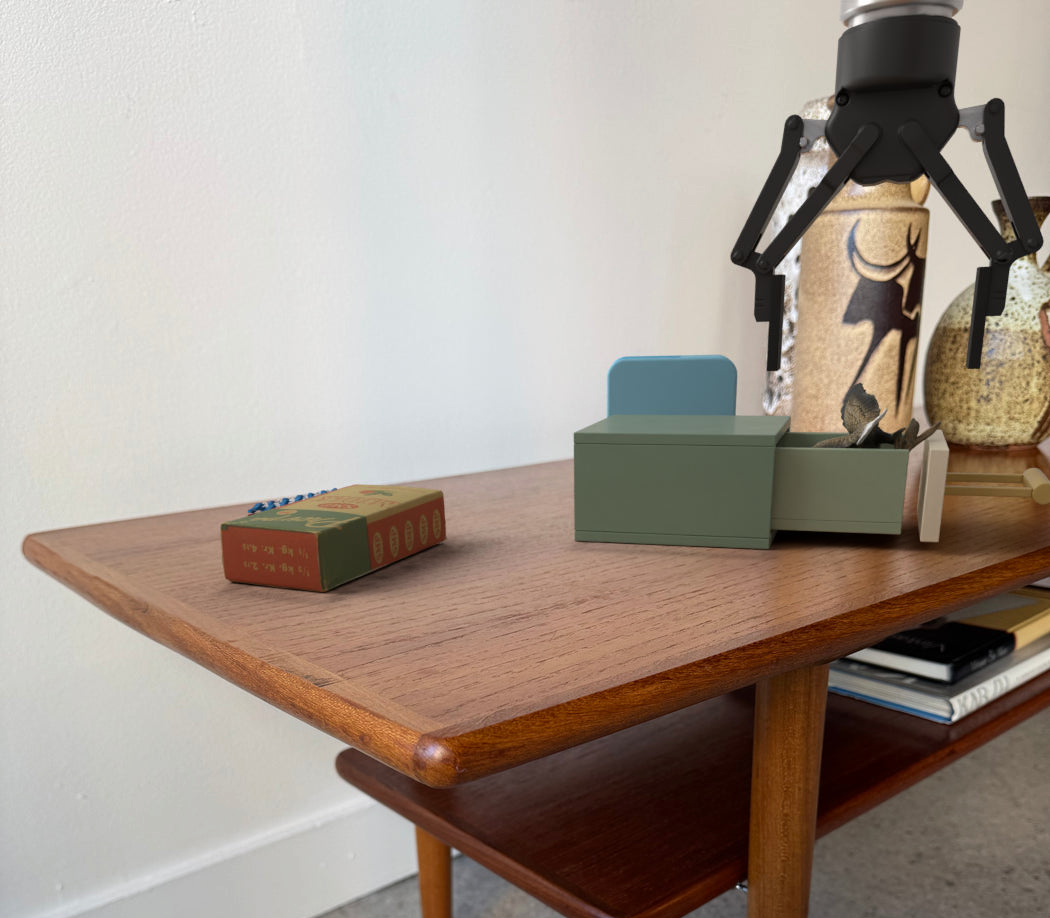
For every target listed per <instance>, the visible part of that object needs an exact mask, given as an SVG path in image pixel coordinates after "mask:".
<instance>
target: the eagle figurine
mask: <svg viewBox="0 0 1050 918" xmlns="http://www.w3.org/2000/svg"><path fill="white" fill-rule="evenodd" d="M839 410H840V414H841V415H840V419H841V420H842V424H841V425H842V426H843V428H844V429H845V430H846V431H847V433H849V434H850V435H847V436H843V437H838V438H832V439H828V440H825V441H821V442H819V443H817V444H816V445H814V446H813V447H811V448H858V449H881V444H886V443H887V444H892V445H894V449H909V454H910V453H911V451H912V450H913V449H915V448H916V447H917V446H918V445H920V444H921V443H922V442H924V440H925V439H927V438H928V437H930V436H931V435H933V434H934V433H935V431H936V430H939V427H940V426H941V425H942V420H938V421H937V422H935V423H934V424H933V425H932V426H930V427H929V428H927V429H925V430H926V431H925V430H924V431H923V432H922V433H920V427H921V426H920V423H919V421H917V420H916V418H915V417H912V418H911V419H910V422H909V423H908V425H907V426H906V427H901V428H899V429H897V430H896V431H894V432H892V433H893V435H892V434H888V433H889V432H887V431H884V430H883V429H882V428H881V427H880V422H881V421H882V420H883V418H885V416H886V414H887V413H888V407H886V408H885V409H884V410H883V412H881V410H882V409H881V408H880V404H879V402H878V399H877V398H876V396H875V394H871V393H868V392H867V390H866V389H865V388H864V383H862V382H857V383H856V384H854V385H853V386H851V387H850V389H848V393H846V394H845V397H844V399H843V401H842V406H841V407H840V409H839ZM902 433H905V434H904V437H903V438H902ZM919 433H920V434H919ZM918 434H919V435H918Z"/></svg>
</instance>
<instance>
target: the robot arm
mask: <svg viewBox="0 0 1050 918" xmlns="http://www.w3.org/2000/svg"><path fill="white" fill-rule="evenodd" d="M964 2H965V1H964V0H840V7H839V21H840V22H841V24H842V25H843V26H844V27H846V28H847V29H846V30H845V31H844V32H842V34H841V36H840V37H839V38H838V40H837V51H836V52H837V53H836V67H835V83H834V96H833V97H834V98H833V106H832V110H831V112H830V114H829V116H828V118H827V119H814V118H813V119H812V118H802V117H801V116H800V115H799V114H796V113H795V114H791V115H789V116H788V117H787V119H785V122H784V124H783V125H784V126H783V132H782V137H781V145H780V151H779V154H778V156H777V157H776V159H775V162H774V164H773V166H772V168H771V170H770V172H769V174H768V176H767V178H766V180H765V182H764V184H763V187H762V188H761V190H760V193H759V195H758V197H757V199H756V201H755V203H754V205H753V207H752V208H751V211H750V213H749V215H748V216H747V219H746V221H745V223H744V225H743V226H742V229H741V232H740V233H739V235H738V238H737V239H736V242H735V244H734V245H733V248H732V250H731V251H730V255H729V257H730V261H731V263H732V264H733V265H735V266H739V267H741V268H744V269H747V270H749V271H751V272H752V274H753V275H754V280H755V281H754V282H755V283H754V301H753V302H754V303H753V304H754V305H753V316H754V320H755V322H756V323H765V322H766V323H768V335H767V352H766V353H767V355H766V372H778V371H779V370H781V368H782V367H781V366H782V350H783V346H782V345H783V332H784V313H785V296H786V295H785V293H786V276H787V275H786V274H782V273H781V274H780V273H779V274H776V269H777V268H778V267H779V266H780V265H781V263H782V262H783V261H784V260H785V258H786V257H787V256H788V255H789V253H791V251H792V250H793V249H794V247H795V246H796V245H797V244H798V243H799V241H800V240H801V239H802V237H803V236H804V235H805V234H806V233H807V232H808V230H809V229H810V228H811V227H812V226H813V224H814V223H815V222H816V221H817V219H818V218H820V216H821V215H822V214H823V212H824V211H825V210H826V209H827V207H828V206H829V205H830V204H831V203H832V201H833V200H834V199H835V198H836V197H837V196H838V195H839V194H840V192H841V191H842V190H843V189H844V187H846V185H847V184H848V183H849V182H850V180H851V181H852V182H853V183H854V184H856V185H858V186H861V187H862V188H869V187H870V188H871V187H876V186H878V185H882V184H886V183H888V184H893V185H897V186H901V185H911V183H914V182H916V181H918V180H919V179H921V178H922V177H923V176H924V177H925V178H926V179H927V181H928V182H929V184H930V185H931V186H932V187H933V189H935V190H936V192H937V193H938V194H939V196H940V197H941V198H942V199H943V201H944V202H945V204H946V205H947V206H948V208H949V209H950V210H951V211H952V213H953V214H954V215H955V217H956V218H957V219H958V221H959V222H960V223H961V225H962V226H963V228H964V229H965V230H966V231H967V233H968V234H969V236H970V237H971V238H972V240H973V241H974V242H975V243H976V245H977V246H978V248H979V249H980V250H981V252H982V253H983V254H984V255H985V256H986V258H987V259H988V261H989V263H988V266H978V267H976V271H975V282H974V289H973V299H972V308H971V315H970V316H971V317H970V325H969V333H968V343H967V352H966V360H965V368H966V369H967V370H981V363H982V356H983V355H982V354H983V347H984V337H985V329H986V323H987V322H986V321H987V317H1002V314H1003V312H1004V310H1005V309H1006V302H1007V295H1008V286H1009V279H1010V270H1011V267H1012V265H1013V264H1014V263H1015V262H1016V261H1017V260H1019V259H1022V258H1024V257H1027V256H1029V255H1032V254H1034V253H1037V252H1039V251H1040V250H1041V249H1042V248H1043V246H1044V242H1045V241H1044V235H1043V233H1042V231H1041V228H1040V225H1039V224H1038V220H1037V218H1036V216H1035V213H1034V210H1033V208H1032V205H1031V202H1030V199H1029V196H1028V193H1027V191H1026V189H1025V186H1024V184H1023V181H1022V178H1021V175H1020V173H1019V170H1018V167H1017V165H1016V162H1015V160H1014V157H1013V154H1012V152H1011V149H1010V145H1009V144H1008V140H1007V138H1006V135H1005V134H1006V131H1005V130H1006V105H1005V101H1004V100H1003V99H1002V98H1000V97H993V98H991V99H990V100H988V101H987V102H986V103H984V104H978V105H975V106H974V105H973V106H968V107H963V108H959V107H958V105H957V103H956V99H955V98H956V97H955V88H956V81H957V80H956V78H957V72H958V71H957V69H958V59H959V50H960V41H961V31H962V26H961V25H960V24H959V22H958V21H957V20H956V19H954V17H955V16H956V15H957V14H958V13H960V11H961V10H962V9H963V7H964ZM958 129H964V130H965V131H967V133H968V136H969V137H968V138H969V139H970V141H972V142H974V143H981V147H982V153H983V155H984V159H985V162H986V164H987V167H988V169H989V171H990V174H991V177H992V179H993V183H994V185H995V187H996V191H997V192H998V196H999V199H1000V201H1001V203H1002V206H1003V209H1004V211H1005V214H1006V217H1007V219H1008V222H1009V224H1010V227H1011V229H1012V232H1013V234H1014V235H1013V236H1014V237H1015V239H1014V240H1012V241H1009V242H1007V241H1006V239H1004V237H1003V236H1002V235H1001V233H1000V232H999V231H998V229H997V227H996V226H995V225H994V224H993V222H992V221H991V220H990V218H989V217H988V216H987V215H986V213H985V212H984V210H983V209H982V207H980V205H979V204H978V203H977V201H976V200H975V199H974V197H973V196H972V195H971V193H970V192H969V191H968V188H966V187H965V185H964V184H963V182H962V181H961V180H960V179H959V177H958V175H957V174H956V173H955V172H954V170H953V168H952V167H951V165H950V164H949V162H948V161H947V160H946V159H945V157H944V156H943V155H942V153H941V152H942V151H943V149H944V148H945V147H946V145H947V144H948V143H949V142H950V140H951V139H952V137H953V136H954V135H955V133H956V132H957V130H958ZM822 139H825V140H826V143H827V145H828V146H829V148H830V149H831V151H832V152H833V155H834V156H835V157H836V159H837V160H836V161H835V162H834V163H833V164H832V166H831V167H830V168H829V169H828V171H827V172H826V173H825V174H824V176H823V177H822V179H821V180H820V182H819V183H818V184H817V185H816V186H815V188H814V189H813V190H812V192H811V193H810V194H809V195H808V197H806V199H805V200H804V201H803V203H802V204H801V205H800V206H799V208H797V210H796V211H795V213H794V214H793V215H792V216H791V217H790V219H789V220H788V221H787V223H786V224H785V225H784V226H783V227H782V229H781V230H780V231H779V232H778V233H777V234H776V236H775V237H774V239H773V240H772V241H771V242H770V243H769V244H768V246H767V247H766V248H765V249H764V251H763V252H762V253H760V252H758V251H756V250H757V248H758V247H759V244H760V242H761V240H762V238H763V236H764V234H765V232H766V231H767V228H768V226H769V225H770V222H771V220H772V218H773V217H774V215H775V212H776V210H777V208H778V207H779V204H780V202H781V200H782V199H783V196H784V194H785V192H786V190H787V189H788V186H789V184H790V182H791V180H792V178H793V177H794V174H795V172H796V170H797V168H798V165H799V163H800V160H801V156H806V155H808V154H810V153H811V152H812V151H813V149H814V147H815V145H816V143H817V142H818V141H819V140H822Z"/></svg>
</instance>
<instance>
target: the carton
mask: <svg viewBox="0 0 1050 918" xmlns="http://www.w3.org/2000/svg"><path fill="white" fill-rule="evenodd" d="M445 507H446V506H445V496H444V492H443V491H442V490H441V489H434V488H425V487H424V488H423V487H415V486H414V487H413V486H402V485H384V484H383V485H381V484H363V483H362V484H360V483H359V484H358V483H357V484H352V485H347V486H343V487H341V488H337V490H334V491H330V492H327V493H324V494H320V495H317V496H314V497H311V498H307V499H304V500H300V501H297V502H294V503H290V504H287V505H284V506H280V507H276V508H273V509H270V510H266V511H263V512H261V511H259V513H258V512H255V513H256V514H253V513H252V514H253V515H250V516H248V515H247V516H244V517H241V518H240V517H239V518H236V519H232V520H228V521H227V520H226V521H223V522H222V523H220V544H221V562H222V570H223V575H224V578H225V580H227V581H228V582H233V583H242V584H250V585H251V584H252V585H256V586H257V585H258V586H266V587H273V588H280V589H281V588H282V589H293V590H301V591H311V592H321V593H324V592H328V591H330V590H332V589H334V588H336V587H339V586H341V585H343V584H346V583H348V582H350V581H353V580H355V579H357V578H360V577H362V576H365V575H367V574H369V573H372V572H374V571H377V570H380V569H382V568H383V567H386V566H389V565H391V564H393V563H395V562H397V561H400V560H402V559H405V558H407V557H410V556H411V555H414V554H417V553H419V552H421V551H423V550H426V549H428V548H431V547H433V546H436V545H438V544H441V543H442V542H444V541H446V540H448V536H447V526H446V525H447V521H446V512H445V511H446V510H445V509H446V508H445Z"/></svg>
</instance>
